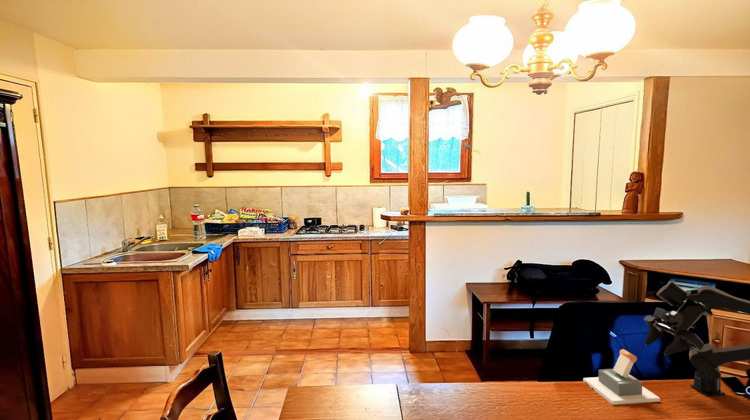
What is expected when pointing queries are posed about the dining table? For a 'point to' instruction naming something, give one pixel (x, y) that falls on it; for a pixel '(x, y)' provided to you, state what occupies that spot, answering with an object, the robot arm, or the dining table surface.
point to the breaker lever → (624, 363)
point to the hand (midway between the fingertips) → (655, 349)
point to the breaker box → (620, 388)
